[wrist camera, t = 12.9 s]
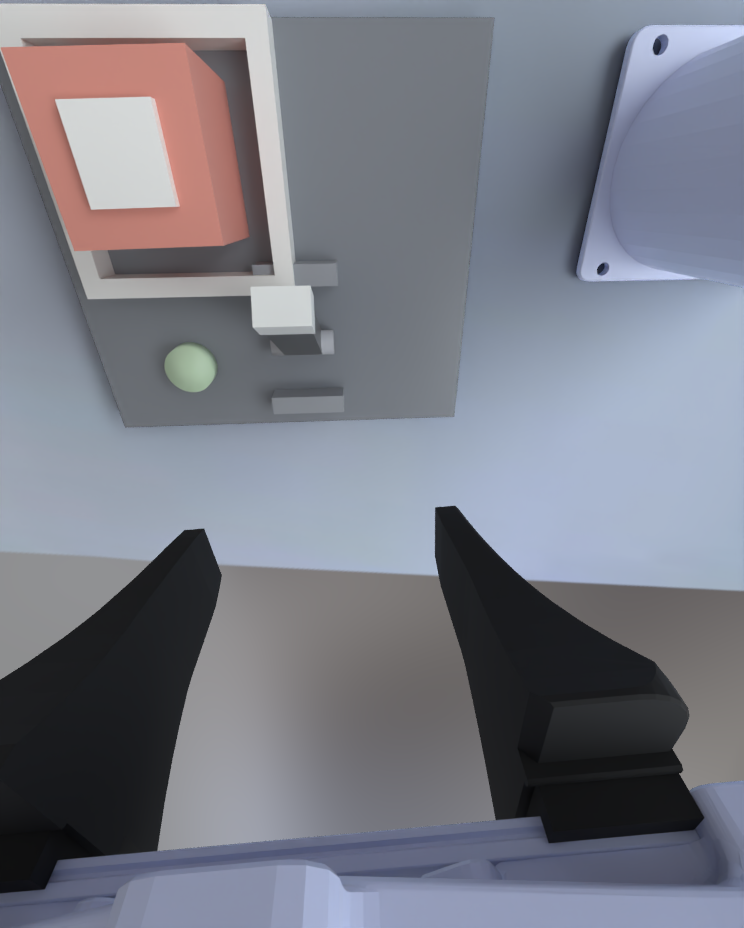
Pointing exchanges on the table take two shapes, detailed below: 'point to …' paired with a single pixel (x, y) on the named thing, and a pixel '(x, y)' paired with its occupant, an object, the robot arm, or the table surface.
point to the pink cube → (133, 144)
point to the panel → (294, 214)
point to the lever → (289, 321)
